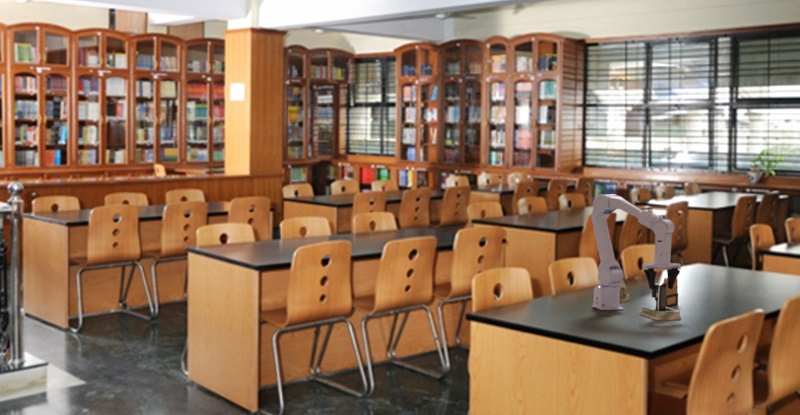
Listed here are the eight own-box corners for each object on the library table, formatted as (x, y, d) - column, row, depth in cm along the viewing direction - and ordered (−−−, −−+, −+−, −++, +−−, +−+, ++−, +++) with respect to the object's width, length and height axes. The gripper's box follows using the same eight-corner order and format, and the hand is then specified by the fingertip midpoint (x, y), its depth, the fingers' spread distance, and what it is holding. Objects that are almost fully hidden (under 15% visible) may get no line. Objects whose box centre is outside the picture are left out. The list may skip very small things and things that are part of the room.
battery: (655, 311, 344) (657, 281, 344) (665, 312, 342) (667, 282, 342) (649, 314, 339) (651, 283, 338) (660, 315, 337) (661, 284, 336)
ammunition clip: (664, 308, 357) (666, 278, 356) (660, 308, 358) (661, 277, 357) (677, 305, 364) (679, 275, 363) (673, 304, 366) (675, 275, 365)
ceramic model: (617, 304, 365) (618, 279, 364) (592, 300, 372) (593, 275, 372) (634, 300, 375) (635, 276, 374) (610, 296, 383) (611, 272, 382)
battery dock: (656, 320, 333) (656, 311, 333) (639, 313, 344) (639, 305, 344) (680, 319, 335) (681, 311, 335) (663, 313, 347) (663, 305, 347)
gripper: (650, 253, 332) (649, 290, 333) (686, 253, 336) (684, 290, 337) (640, 251, 339) (639, 287, 340) (675, 251, 343) (673, 287, 344)
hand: (660, 288), depth 339 cm, fingers open, 7 cm apart
